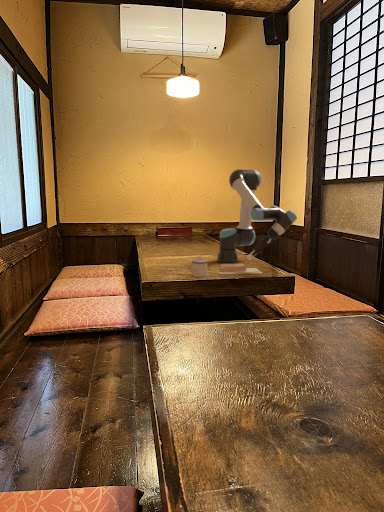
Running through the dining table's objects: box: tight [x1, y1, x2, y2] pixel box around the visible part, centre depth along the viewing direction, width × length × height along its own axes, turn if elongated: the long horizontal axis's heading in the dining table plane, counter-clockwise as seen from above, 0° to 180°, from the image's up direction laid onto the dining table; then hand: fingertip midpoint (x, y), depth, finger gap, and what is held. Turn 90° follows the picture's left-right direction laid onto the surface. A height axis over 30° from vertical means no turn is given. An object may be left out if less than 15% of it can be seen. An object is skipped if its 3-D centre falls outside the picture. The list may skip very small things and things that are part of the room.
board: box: [216, 267, 263, 275], centre depth 226 cm, size 20×26×1 cm
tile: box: [220, 263, 247, 272], centre depth 226 cm, size 10×3×14 cm
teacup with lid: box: [186, 255, 209, 278], centre depth 214 cm, size 12×9×12 cm
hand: (248, 258), depth 225 cm, fingers closed
